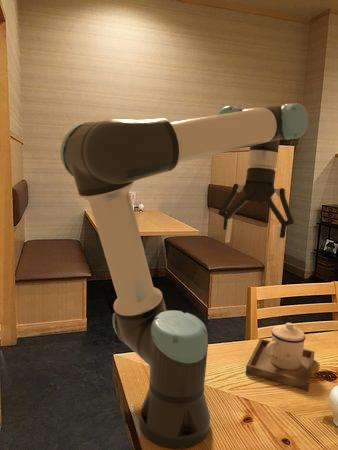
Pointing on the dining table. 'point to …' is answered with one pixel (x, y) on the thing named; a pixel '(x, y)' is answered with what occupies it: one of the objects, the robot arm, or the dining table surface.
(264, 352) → the walnut tray
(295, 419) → the dining table surface
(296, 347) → the teacup with lid
